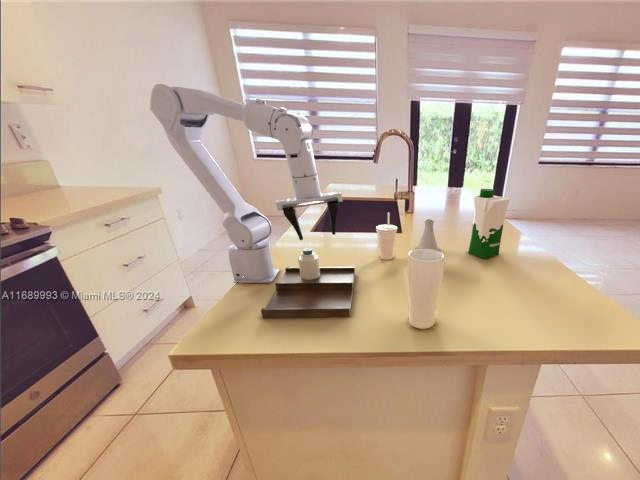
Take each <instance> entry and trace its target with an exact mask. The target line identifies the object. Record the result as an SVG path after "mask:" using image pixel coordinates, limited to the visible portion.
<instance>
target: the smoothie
mask: <svg viewBox="0 0 640 480" xmlns="http://www.w3.org/2000/svg"><path fill="white" fill-rule="evenodd" d="M390 214H391V213H390V212H389V211H388V212H387V224H378V225H376V227H375V231H376V232H377V241H378V247H379V255H380V256H379V257H380V259H381V260H386V261H390V260H391V259H393V257H394V250H395V242H396V237H397V232H398V226H396V225H393V224H391V223H390V218H391V217H390V216H391V215H390Z"/></svg>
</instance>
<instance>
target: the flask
mask: <svg viewBox="0 0 640 480" xmlns="http://www.w3.org/2000/svg"><path fill="white" fill-rule="evenodd" d="M434 223H435V220H434V219H429V218H428V219H424V229H423V233H422V236H421V238H420V240H419V242H418V245H417V248H416V250H417V249H432V250H436V251H439V246H438V242H437V239H436V234H435V229H434Z"/></svg>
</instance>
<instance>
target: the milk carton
mask: <svg viewBox="0 0 640 480" xmlns="http://www.w3.org/2000/svg"><path fill="white" fill-rule="evenodd" d="M479 191H480V192H479V195H477V196H473V207H474V214H473V220H472V227H471V228H472V229H471V236H470V243H469V247H468V251H467V254H470V255H473V256H476V257H478V258H481V259H484V260H488V259H490V258H493V257H496V256H499V255H500V249H501V242H502V235H503V230H504V224H505V218H506V214H507V210H508V207H509V204H510V198H508V197H504V196H500V195H499V196H498V195H494V193H495V190H494V189H492V188H480V190H479Z"/></svg>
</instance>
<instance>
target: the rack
mask: <svg viewBox="0 0 640 480" xmlns="http://www.w3.org/2000/svg"><path fill="white" fill-rule="evenodd" d="M319 269H320V276H319V277H318V278H316V279H312V280H306V279H302V278H301V276H300V268H299V266H286V267H285V268H284V270H285V271H284V273H283V274H282V276H281V278H280V279H279V281H276V282H275V289H276V290H275V292H274V294H273V295H272V297H271V298H270V300H269V302H268V303H267V305H266V306H265V307H262V308H261V309H260V312H261V317H262V319H288V318H289V319H290V318H291V319H293V318H297V319H298V318H349V317H351V310H352V302H353V295H354V288H355V281H356V280H355V279H356V266H319Z"/></svg>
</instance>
